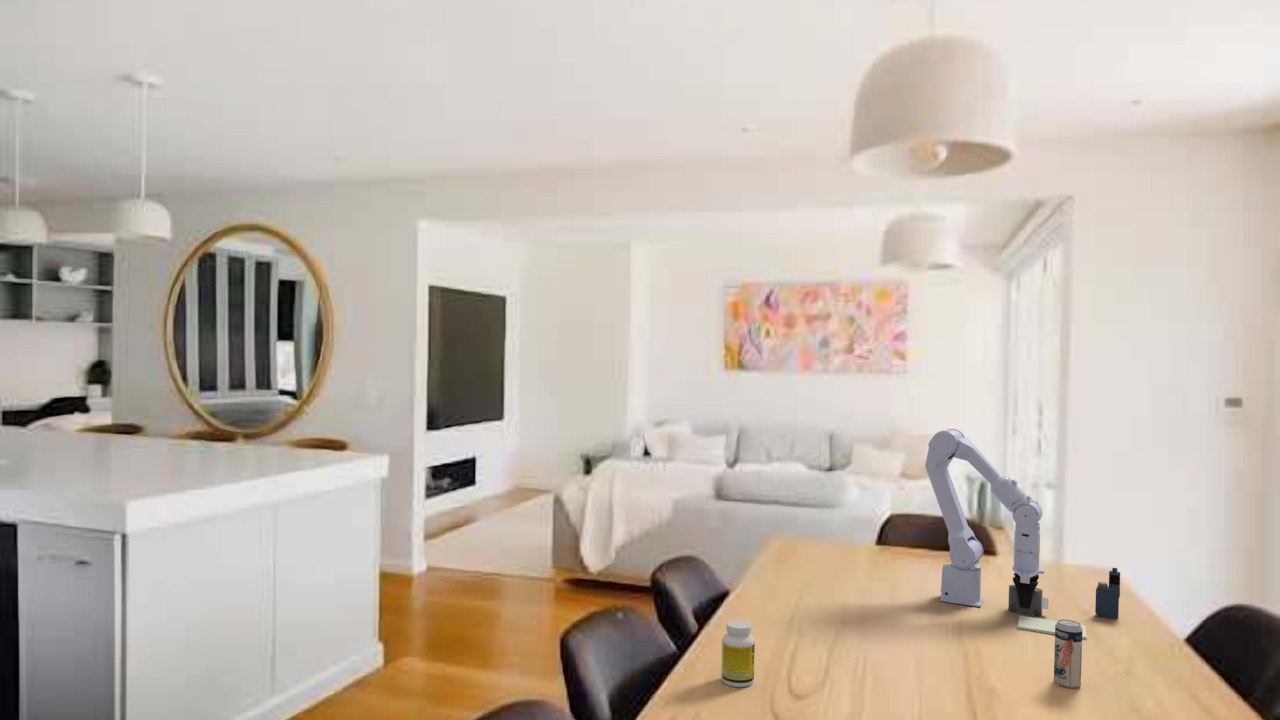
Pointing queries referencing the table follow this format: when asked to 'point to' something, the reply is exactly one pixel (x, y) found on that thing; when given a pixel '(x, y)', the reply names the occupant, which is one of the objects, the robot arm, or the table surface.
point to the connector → (1036, 603)
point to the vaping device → (1108, 596)
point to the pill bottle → (738, 654)
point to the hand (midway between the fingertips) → (1025, 605)
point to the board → (1041, 625)
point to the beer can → (1068, 653)
